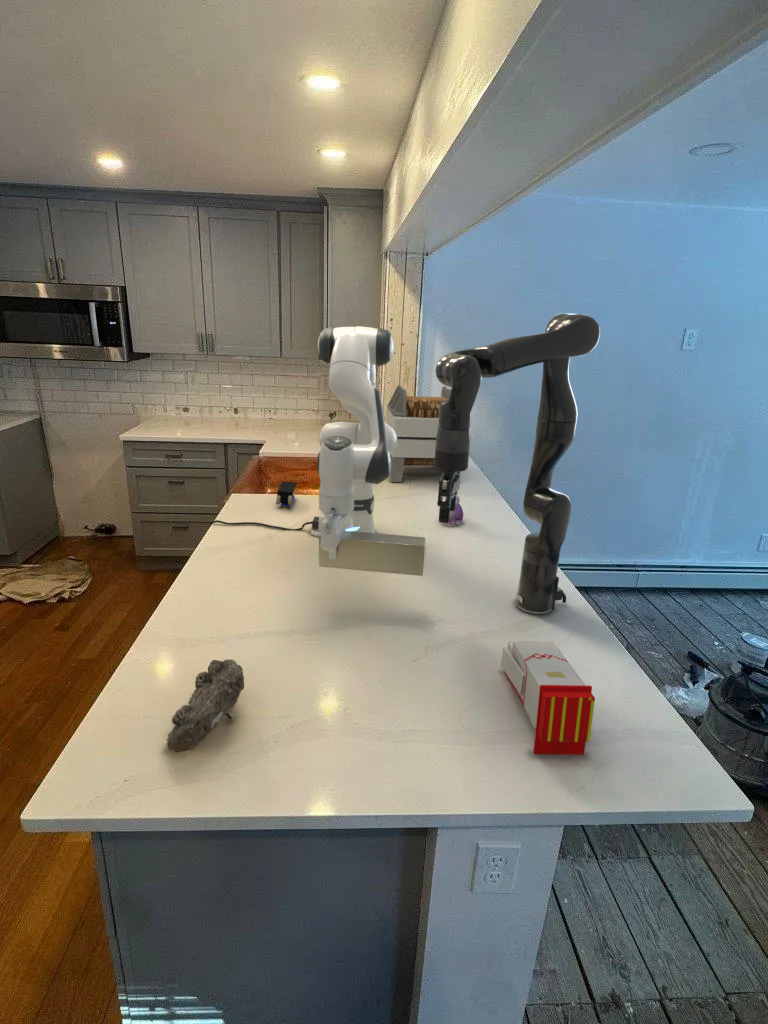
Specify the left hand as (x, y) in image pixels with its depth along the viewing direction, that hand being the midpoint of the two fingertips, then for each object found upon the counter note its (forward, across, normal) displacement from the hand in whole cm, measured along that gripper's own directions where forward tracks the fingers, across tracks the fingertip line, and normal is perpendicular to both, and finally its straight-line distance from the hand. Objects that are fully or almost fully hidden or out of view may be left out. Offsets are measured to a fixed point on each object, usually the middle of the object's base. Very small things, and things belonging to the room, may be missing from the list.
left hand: (335, 552), depth 147 cm
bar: (+3, 0, -10) cm, 10 cm away
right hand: (-16, -8, -28) cm, 33 cm away
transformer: (+17, +133, -14) cm, 134 cm away
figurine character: (+16, +73, +35) cm, 82 cm away
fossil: (+14, -49, +14) cm, 53 cm away
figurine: (+16, +68, -30) cm, 76 cm away
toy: (+14, -34, -49) cm, 61 cm away
